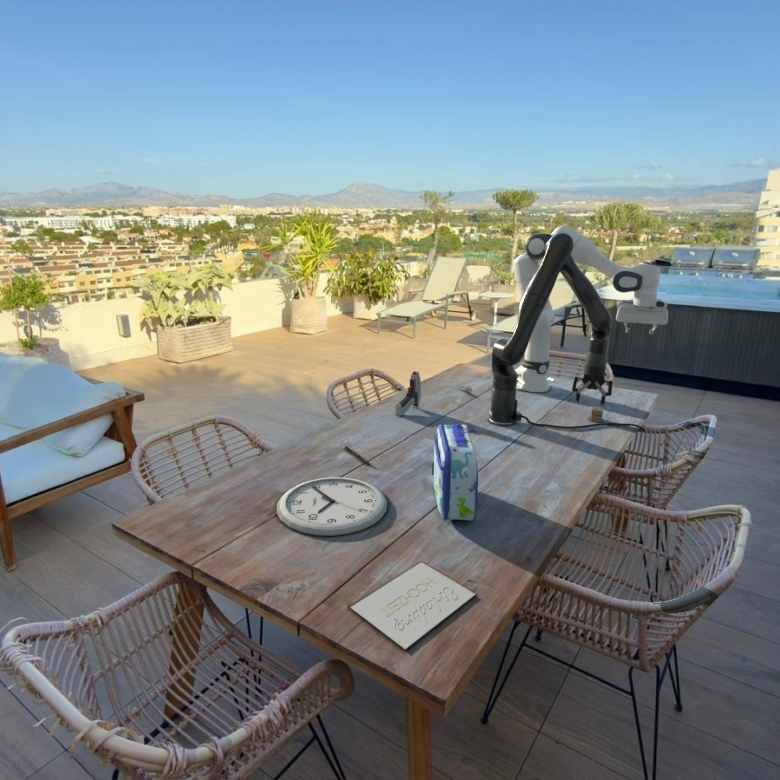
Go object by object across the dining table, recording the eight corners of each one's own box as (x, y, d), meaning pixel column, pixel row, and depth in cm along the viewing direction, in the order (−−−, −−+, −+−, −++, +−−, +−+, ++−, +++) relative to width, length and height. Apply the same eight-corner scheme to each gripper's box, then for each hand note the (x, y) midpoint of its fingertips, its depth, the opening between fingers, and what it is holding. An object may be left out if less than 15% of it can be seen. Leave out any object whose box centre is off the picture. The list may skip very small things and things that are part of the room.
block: (590, 417, 213) (592, 406, 212) (601, 418, 212) (602, 407, 211) (590, 421, 209) (592, 409, 208) (601, 422, 208) (602, 411, 206)
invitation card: (421, 561, 119) (475, 593, 109) (421, 562, 119) (475, 594, 109) (350, 606, 104) (405, 648, 94) (350, 608, 104) (405, 649, 94)
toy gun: (394, 379, 206) (416, 369, 217) (395, 417, 212) (416, 405, 223) (399, 380, 205) (420, 370, 216) (400, 418, 211) (421, 406, 222)
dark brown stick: (344, 448, 179) (344, 445, 179) (346, 448, 179) (346, 445, 179) (367, 464, 167) (367, 462, 167) (368, 464, 167) (368, 461, 167)
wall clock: (392, 527, 129) (268, 531, 127) (391, 533, 130) (269, 537, 127) (383, 473, 158) (282, 475, 155) (383, 478, 158) (282, 480, 156)
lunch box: (430, 480, 157) (433, 415, 151) (465, 481, 157) (470, 415, 151) (436, 527, 133) (440, 452, 126) (478, 528, 133) (484, 453, 126)
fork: (470, 397, 235) (470, 393, 235) (457, 387, 250) (457, 383, 249) (475, 396, 236) (476, 392, 236) (462, 386, 251) (462, 382, 250)
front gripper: (575, 363, 198) (570, 404, 203) (616, 367, 193) (609, 409, 198) (576, 359, 205) (570, 398, 209) (615, 363, 200) (608, 403, 205)
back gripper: (618, 300, 223) (613, 332, 227) (671, 303, 217) (665, 336, 221) (617, 298, 229) (613, 330, 233) (669, 302, 222) (663, 334, 226)
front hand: (589, 403), depth 204 cm, fingers open, 8 cm apart
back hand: (639, 333), depth 227 cm, fingers open, 8 cm apart
